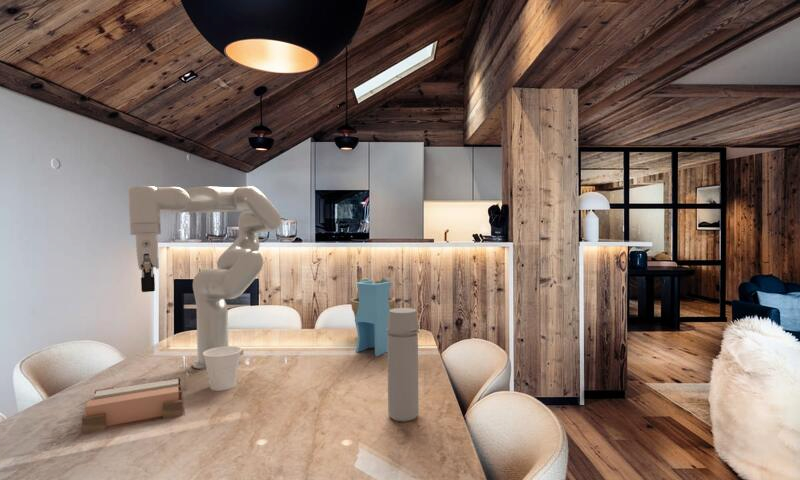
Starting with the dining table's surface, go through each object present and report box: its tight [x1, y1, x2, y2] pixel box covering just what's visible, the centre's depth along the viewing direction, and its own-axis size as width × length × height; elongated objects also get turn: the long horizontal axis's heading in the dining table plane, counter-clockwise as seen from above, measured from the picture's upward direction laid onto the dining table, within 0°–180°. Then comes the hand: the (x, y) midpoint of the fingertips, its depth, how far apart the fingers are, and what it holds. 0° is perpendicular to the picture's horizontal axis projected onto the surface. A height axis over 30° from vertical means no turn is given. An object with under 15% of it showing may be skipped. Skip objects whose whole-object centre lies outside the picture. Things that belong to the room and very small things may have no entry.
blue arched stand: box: [354, 279, 392, 357], centre depth 158 cm, size 10×10×25 cm
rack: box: [79, 377, 186, 436], centre depth 105 cm, size 20×20×4 cm
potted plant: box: [350, 276, 396, 317], centre depth 180 cm, size 18×19×25 cm
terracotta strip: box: [84, 386, 179, 426], centre depth 100 cm, size 18×4×5 cm, turn 118°
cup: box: [203, 345, 242, 392], centre depth 120 cm, size 10×10×11 cm
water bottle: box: [386, 307, 421, 423], centre depth 102 cm, size 9×8×25 cm
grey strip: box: [93, 378, 178, 399], centre depth 110 cm, size 18×4×4 cm, turn 118°
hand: (148, 289), depth 124 cm, fingers open, 9 cm apart
